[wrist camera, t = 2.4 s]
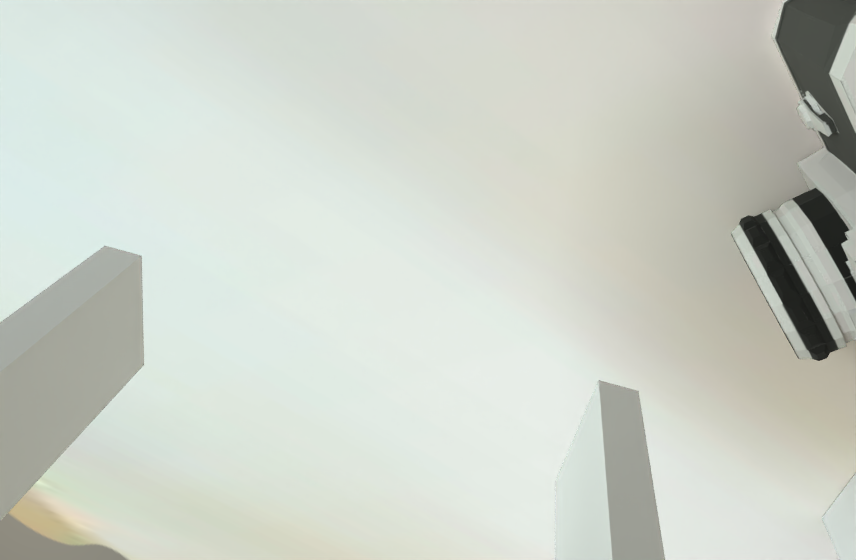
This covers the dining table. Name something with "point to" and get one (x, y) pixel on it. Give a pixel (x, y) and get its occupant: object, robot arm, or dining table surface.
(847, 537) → the rail mount
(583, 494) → the robot arm
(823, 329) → the camera
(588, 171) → the dining table surface
